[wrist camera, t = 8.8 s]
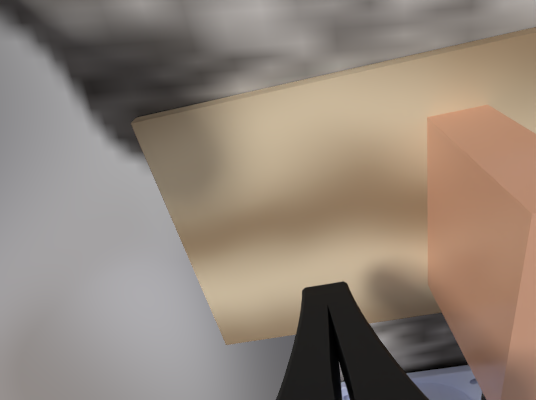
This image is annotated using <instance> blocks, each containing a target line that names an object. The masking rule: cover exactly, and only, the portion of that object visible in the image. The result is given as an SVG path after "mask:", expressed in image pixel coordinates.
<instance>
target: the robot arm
mask: <svg viewBox="0 0 536 400" xmlns="http://www.w3.org/2000/svg"><path fill="white" fill-rule="evenodd" d="M339 363H340V366H341V370H342V374H343V377H344V381H345V382H341V379H340V369H339ZM481 396H482V390H481V388H480V386H479V384H478V382H477V380H476V378H475V376H474V374H473V372H472V370H471V368H470V366H469V365H464V366H457V367H449V368H442V369H434V370H427V371H419V372H412V373H405V372H404V370H403V369H402V368H401V367H400V365H399V364H398V363H397V362H396V360H395V359H394V358H393V357H392V355H391V354H390V353H389V351H388V350H387V349H386V347H385V346H384V345H383V343H382V342H381V341H380V339H379V338H378V336H377V335H376V333H375V332H374V330H373V329H372V327H371V326H370V325H369V323H368V321H367V320H366V318H365V317H364V315H363V313H362V312H361V310H360V308H359V307H358V305H357V303H356V301H355V299H354V297H353V295H352V293H351V291H350V289H349V286H348V284H347V283H346V282H344V281H342V282H336V283H330V284H324V285H318V286H312V287H306V288H304V289H303V290H302V301H301V310H300V317H299V322H298V327H297V332H296V336H295V340H294V345H293V349H292V353H291V356H290V359H289V363H288V366H287V369H286V373H285V376H284V379H283V382H282V385H281V388H280V391H279V393H278V396H277V399H276V400H481Z"/></svg>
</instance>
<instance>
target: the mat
mask: <svg viewBox="0 0 536 400" xmlns="http://www.w3.org/2000/svg"><path fill="white" fill-rule="evenodd" d="M483 105H489V106H491V107H493V108H494V109H496V110H498V111H499V112H501V113H502V114H504V115H506V116H507V117H509V118H511V119H512V120H514V121H516V122H517V123H519V124H520V125H522V126H524V127H525V128H527V129H529V130H530V131H532V132H534V133H535V134H536V27H534V28H530V29H526V30H521V31H517V32H512V33H508V34H503V35H499V36H495V37H490V38H486V39H481V40H477V41H472V42H468V43H464V44H459V45H455V46H450V47H446V48H442V49H437V50H433V51H428V52H424V53H419V54H415V55H411V56H406V57H402V58H397V59H393V60H389V61H384V62H380V63H375V64H371V65H366V66H362V67H358V68H353V69H349V70H344V71H340V72H335V73H331V74H327V75H322V76H318V77H313V78H309V79H305V80H300V81H296V82H291V83H287V84H282V85H278V86H274V87H269V88H265V89H260V90H256V91H252V92H247V93H243V94H238V95H234V96H229V97H225V98H221V99H216V100H212V101H207V102H203V103H199V104H194V105H190V106H185V107H181V108H176V109H172V110H168V111H163V112H159V113H154V114H150V115H145V116H141V117H137V118H135V119H134V120H133V121H132V123H131V125H132V128H133V130H134V132H135V135H136V137H137V139H138V142H139V144H140V146H141V149H142V151H143V153H144V156H145V158H146V160H147V162H148V165H149V167H150V169H151V172H152V174H153V176H154V179H155V181H156V183H157V186H158V188H159V190H160V192H161V195H162V197H163V200H164V202H165V204H166V207H167V209H168V211H169V213H170V215H171V218H172V220H173V223H174V225H175V227H176V230H177V232H178V234H179V237H180V239H181V241H182V244H183V246H184V248H185V251H186V253H187V255H188V258H189V260H190V262H191V265H192V267H193V269H194V271H195V274H196V276H197V278H198V281H199V283H200V285H201V287H202V290H203V292H204V295H205V297H206V299H207V302H208V304H209V306H210V309H211V311H212V313H213V316H214V318H215V320H216V322H217V325H218V327H219V329H220V332H221V334H222V336H223V339H224V341H225V343H226V345H229V344H235V343H242V342H249V341H256V340H262V339H269V338H276V337H282V336H289V335H296V332H297V327H298V322H299V317H300V310H301V301H302V290H303V289H304V288H306V287H312V286H318V285H324V284H330V283H336V282H342V281H344V282H346V283H347V284H348V286H349V289H350V291H351V293H352V295H353V297H354V299H355V301H356V303H357V305H358V307H359V308H360V310H361V312H362V313H363V315H364V317H365V318H366V320H367V321H368V323H375V322H382V321H389V320H395V319H402V318H409V317H415V316H422V315H429V314H435V313H442V312H441V310H440V308H439V306H438V304H437V302H436V300H435V298H434V296H433V294H432V292H431V290H430V288H429V286H428V212H427V117H430V116H435V115H440V114H445V113H450V112H455V111H459V110H464V109H469V108H474V107H479V106H483Z"/></svg>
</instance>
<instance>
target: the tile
mask: <svg viewBox="0 0 536 400" xmlns="http://www.w3.org/2000/svg"><path fill="white" fill-rule="evenodd" d="M427 212H428V286H429V288H430V290H431V292H432V294H433V296H434V298H435V300H436V302H437V304H438V306H439V308H440V310H441V312H442V314H443V316H444V318H445V319H446V321H447V323H448V325H449V327H450V329H451V331H452V333H453V335H454V337H455V339H456V341H457V343H458V345H459V347H460V349H461V351H462V353H463V355H464V357H465V359H466V361H467V363H468V364H469V366H470V368H471V370H472V372H473V374H474V376H475V378H476V380H477V382H478V384H479V386H480V388H481V390H482V392H483V394H484V396H485V398H486V400H536V134H535V133H534V132H532V131H530V130H529V129H527V128H525V127H524V126H522V125H520V124H519V123H517V122H516V121H514V120H512V119H511V118H509V117H507V116H506V115H504V114H502V113H501V112H499V111H498V110H496V109H494V108H493V107H491V106H489V105H483V106H479V107H474V108H469V109H464V110H459V111H455V112H450V113H445V114H440V115H435V116H430V117H427Z"/></svg>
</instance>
